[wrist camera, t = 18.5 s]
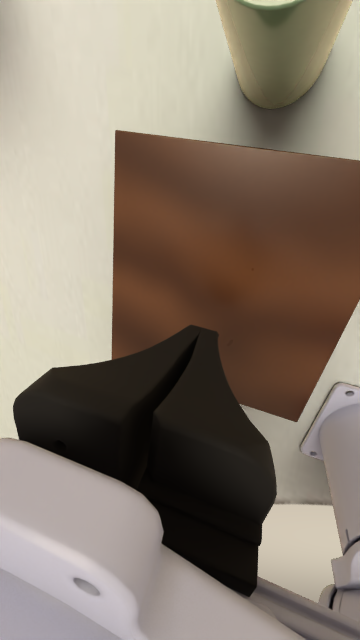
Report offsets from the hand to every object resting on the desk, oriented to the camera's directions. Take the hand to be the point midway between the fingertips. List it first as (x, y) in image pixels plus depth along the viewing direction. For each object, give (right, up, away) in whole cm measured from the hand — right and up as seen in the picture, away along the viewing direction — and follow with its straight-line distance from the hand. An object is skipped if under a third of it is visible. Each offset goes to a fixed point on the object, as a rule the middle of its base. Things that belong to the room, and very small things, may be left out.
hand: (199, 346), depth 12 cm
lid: (+2, +3, +3) cm, 5 cm away
